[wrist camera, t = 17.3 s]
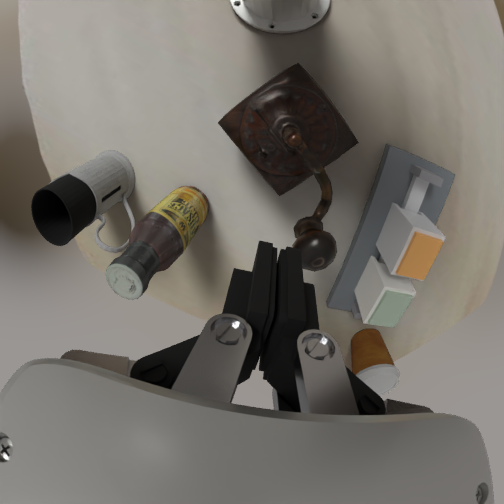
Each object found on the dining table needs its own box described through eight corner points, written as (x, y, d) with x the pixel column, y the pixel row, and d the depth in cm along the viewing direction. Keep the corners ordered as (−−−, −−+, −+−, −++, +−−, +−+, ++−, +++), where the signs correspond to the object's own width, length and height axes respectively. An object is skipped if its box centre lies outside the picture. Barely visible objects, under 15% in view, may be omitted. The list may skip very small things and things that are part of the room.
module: (392, 202, 35) (415, 228, 28) (422, 212, 35) (447, 239, 28) (375, 244, 38) (392, 276, 31) (405, 252, 38) (424, 283, 31)
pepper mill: (225, 119, 33) (177, 140, 18) (293, 68, 28) (305, 40, 13) (297, 206, 38) (307, 287, 23) (362, 163, 34) (420, 219, 19)
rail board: (386, 143, 32) (417, 160, 24) (450, 171, 32) (486, 194, 24) (326, 301, 47) (332, 343, 39) (383, 311, 47) (396, 350, 39)
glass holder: (101, 140, 35) (33, 170, 22) (173, 186, 38) (123, 234, 26) (85, 185, 39) (25, 227, 27) (150, 229, 42) (104, 286, 30)
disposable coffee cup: (335, 337, 52) (341, 388, 41) (377, 315, 48) (391, 365, 37) (355, 358, 55) (363, 404, 45) (393, 338, 51) (407, 384, 41)
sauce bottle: (218, 212, 40) (173, 306, 23) (183, 228, 42) (126, 319, 25) (196, 174, 37) (128, 246, 20) (161, 192, 39) (86, 269, 22)
